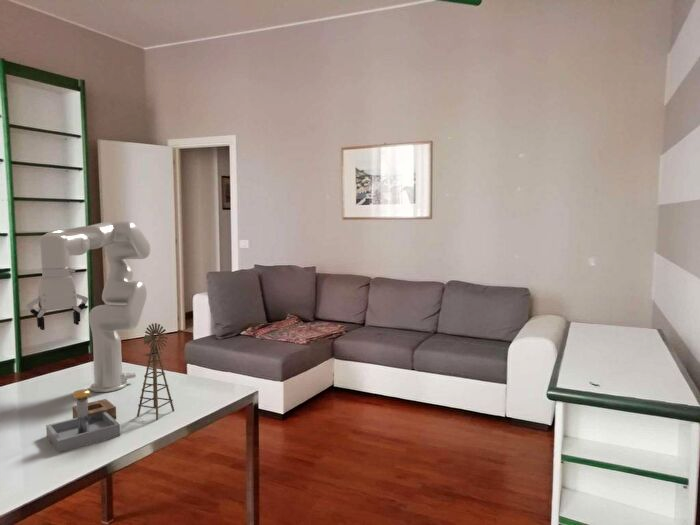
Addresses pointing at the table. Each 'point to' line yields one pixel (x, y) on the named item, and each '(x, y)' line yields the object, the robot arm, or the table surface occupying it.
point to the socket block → (98, 409)
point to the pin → (82, 409)
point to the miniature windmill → (154, 368)
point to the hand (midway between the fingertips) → (59, 326)
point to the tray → (68, 437)
